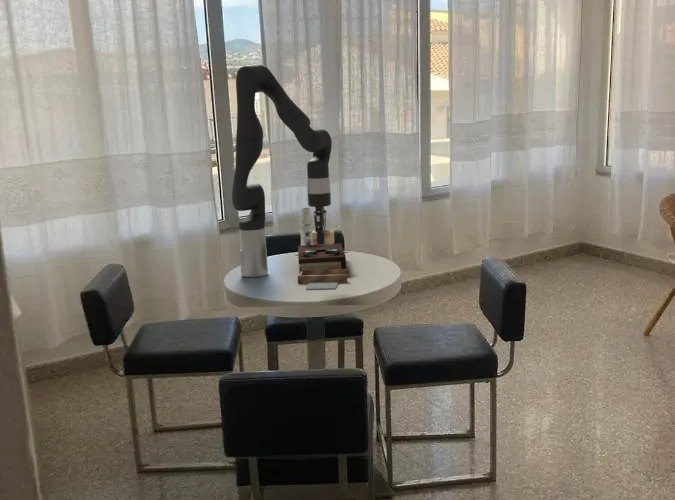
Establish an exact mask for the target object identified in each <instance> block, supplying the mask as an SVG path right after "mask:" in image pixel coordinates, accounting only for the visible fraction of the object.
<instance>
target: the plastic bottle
mask: <svg viewBox="0 0 675 500" xmlns="http://www.w3.org/2000/svg"><path fill="white" fill-rule="evenodd" d="M300 210H301V211H300V213H301V216H300V217H299V219H298V229H299V234H300V246H303V245H312V232H313V231H315V222H314V217H313V216H312V215H311V213H312V212H311V208H310V207H305V208H301V209H300Z"/></svg>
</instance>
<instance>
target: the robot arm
mask: <svg viewBox="0 0 675 500" xmlns="http://www.w3.org/2000/svg"><path fill="white" fill-rule="evenodd" d="M235 90H236V108H237V109H236V110H237V111H236V134H235V135H236V136H235V138H236V139H235V162H234V163H235V166H234V174H233V182H232V183H233V184H232V190H231V191H232V192H231V199H232V200H231V201H232V206H233V209H234V210H236V211H238V212H247V211H250V213H248V215H246V217H244V218H242V219H240V220H239V222H238V228H239V232H238V233H239V242H240V243H239V245H240V250H239V265H240V275H241V277H243V278H244V277H246V278H260V277H265V276H267V275H268V274H269V267H268V252H267V241H266V226H265V225H266V224H265V222H266V196H265V191H264V188H263V186H262V185H261V183H249V184H248V179H249V175H250V173H251V170H252V169H253V167H254V166H255V164H256V163H257V161H258V159H259V158H260V156H261V155H262V152H263V146H264V130H263V126H262V124H261V121H260V120H259V117H258V115H257V112H256V107H255V106H256V102H255V99H256V93H258V94H259V93H262V94H264V95H265V96H267V97H268V98H269V99H270V100H271V101H272V103H273V105H274V107H275V110H276V113H277V117H279V119H280V120H281V121H282V123H284V125H285V126H286V127H287V128H288V129H289V130H290V131H291V132H293V134H294V137H295V138H296V140H297V142H298V143H299V145H300V147H301V148H302V149H303V150H305V151H306V152H309V153H312V158H311V159H310V160H308V161H307V164H306V170H307V171H306V174H307V184H306V185H307V187H306V188H307V206H309V208H310V207H311V208H315V209H314V211H313V219H314V231H316V233H317V243H318V244H324V230H327V214H328V213H327V210H326V209H325V207H329V206H330V205H331V204H332V198H331V197H332V196H331V195H332V194H331V181H330V172H329V171H330V170H329V163H330V159H331V152H332V145H333V143H332V138H331V137H332V136H331V135H330V133H329V132H328V131H327V130H326V129H321V128H319V129H313V128H312V126H311V120H310V119H311V118H309V116H308V115H307V114H306V113H305V112H304V111H303V110H302V109H301V108H300V106H299V107H298V105H297V104H296V103H295V102H294V101H293V100H292V99H291V98H290V97H289V95H288V94H287V92H286V91H285V90H284V88H283V87H282V85H281V84H280V82H279V81H278V80H277V78H276V77H275V75H274V74H273V73H272V71H271V70H270V69H269V68H268V67H267V66H266V65H264V64H260V63H256V64H247V65H243V66H240V67H239V68H238V70H237V72H236V76H235Z"/></svg>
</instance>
